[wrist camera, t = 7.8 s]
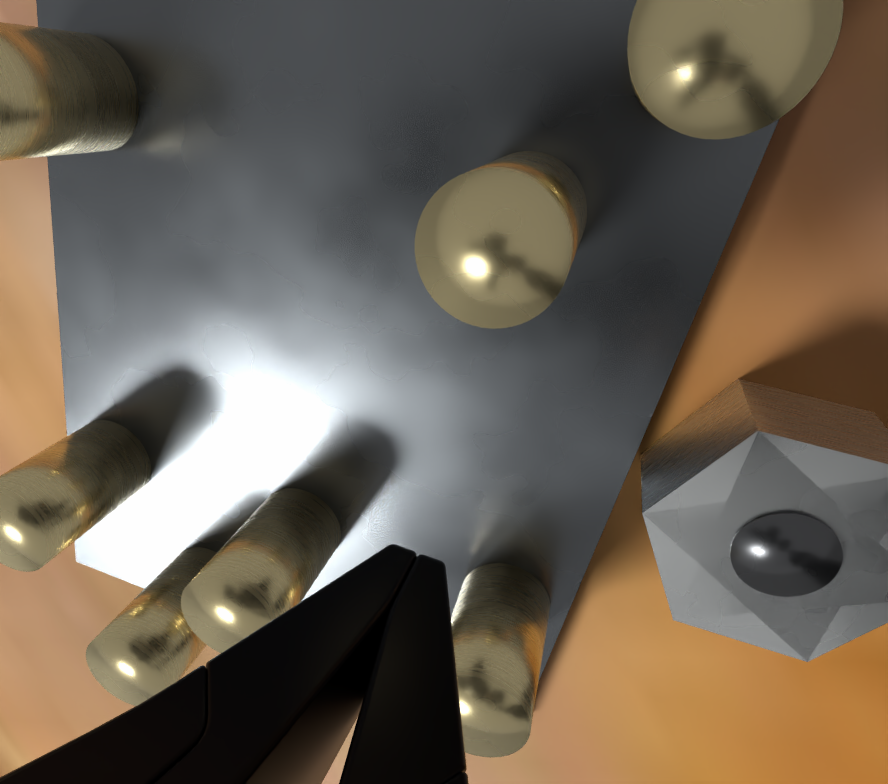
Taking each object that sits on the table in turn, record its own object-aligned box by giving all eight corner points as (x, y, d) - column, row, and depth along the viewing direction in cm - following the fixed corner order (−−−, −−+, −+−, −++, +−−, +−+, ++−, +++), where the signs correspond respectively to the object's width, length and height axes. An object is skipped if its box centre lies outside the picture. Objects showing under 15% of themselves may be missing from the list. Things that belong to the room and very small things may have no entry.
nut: (943, 426, 12) (1011, 497, 10) (840, 596, 14) (879, 686, 12) (672, 360, 13) (681, 412, 11) (612, 529, 15) (609, 602, 13)
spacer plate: (831, -23, 10) (944, -93, 6) (518, 717, 18) (491, 866, 14) (49, -186, 12) (-201, -309, 8) (90, 549, 20) (-25, 644, 16)
